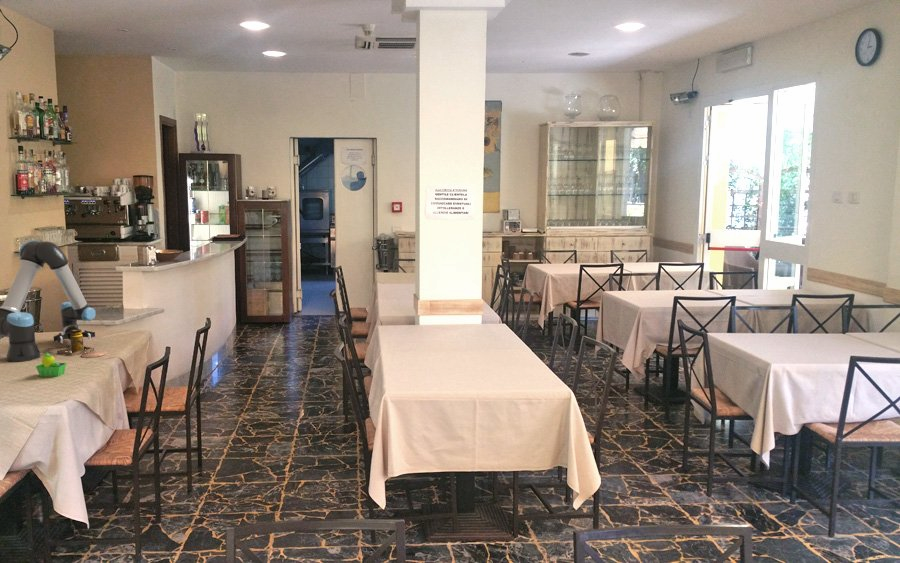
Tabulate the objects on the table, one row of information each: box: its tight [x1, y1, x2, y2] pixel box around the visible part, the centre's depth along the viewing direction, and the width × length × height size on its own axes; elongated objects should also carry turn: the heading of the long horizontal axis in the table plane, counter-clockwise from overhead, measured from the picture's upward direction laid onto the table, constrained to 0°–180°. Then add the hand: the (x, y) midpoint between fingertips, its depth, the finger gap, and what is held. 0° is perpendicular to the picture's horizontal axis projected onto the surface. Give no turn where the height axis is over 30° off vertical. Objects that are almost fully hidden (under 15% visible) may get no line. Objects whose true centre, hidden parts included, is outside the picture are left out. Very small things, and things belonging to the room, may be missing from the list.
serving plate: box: [81, 350, 108, 358], centre depth 392 cm, size 12×12×1 cm
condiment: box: [70, 328, 85, 353], centre depth 398 cm, size 7×8×12 cm
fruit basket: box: [35, 353, 67, 378], centre depth 352 cm, size 11×9×11 cm
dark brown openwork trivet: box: [56, 346, 95, 357], centre depth 399 cm, size 13×12×2 cm
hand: (76, 339), depth 399 cm, fingers open, 13 cm apart
